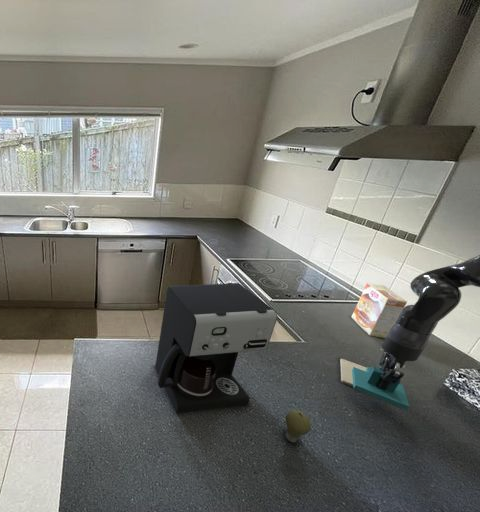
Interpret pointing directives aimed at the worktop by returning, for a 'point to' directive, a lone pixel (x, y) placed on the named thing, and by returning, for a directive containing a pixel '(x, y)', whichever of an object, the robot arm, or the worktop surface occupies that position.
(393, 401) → the teal tile
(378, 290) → the coffeecake box
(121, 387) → the worktop surface
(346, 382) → the beige tile
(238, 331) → the coffee maker
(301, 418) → the light bulb
